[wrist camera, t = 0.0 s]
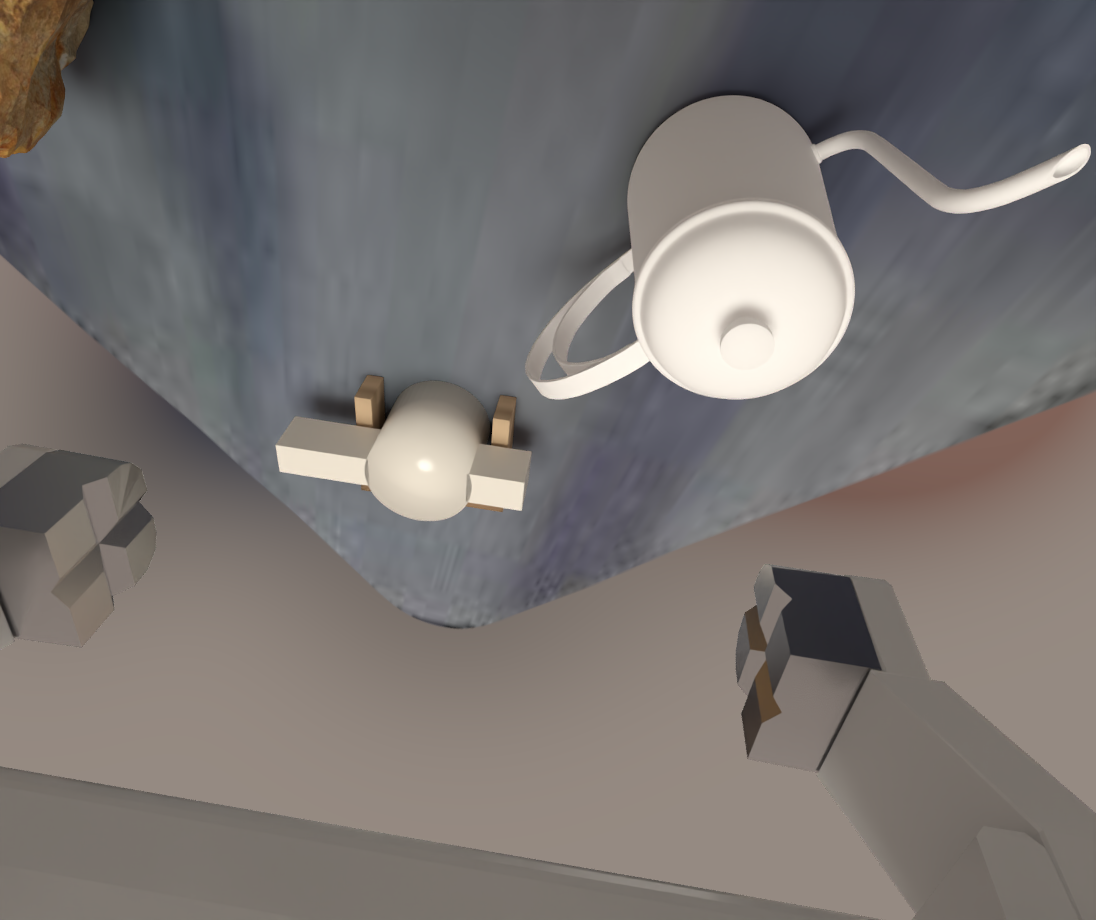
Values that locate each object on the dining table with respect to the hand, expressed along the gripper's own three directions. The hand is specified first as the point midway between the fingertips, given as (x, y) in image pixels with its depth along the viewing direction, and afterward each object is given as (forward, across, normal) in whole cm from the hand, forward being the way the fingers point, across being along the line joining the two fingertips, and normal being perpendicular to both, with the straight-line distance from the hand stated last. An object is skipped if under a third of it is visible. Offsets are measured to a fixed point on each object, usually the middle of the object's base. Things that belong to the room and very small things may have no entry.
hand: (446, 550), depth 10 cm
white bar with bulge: (+41, +10, +23) cm, 49 cm away
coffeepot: (+40, -8, +3) cm, 40 cm away
